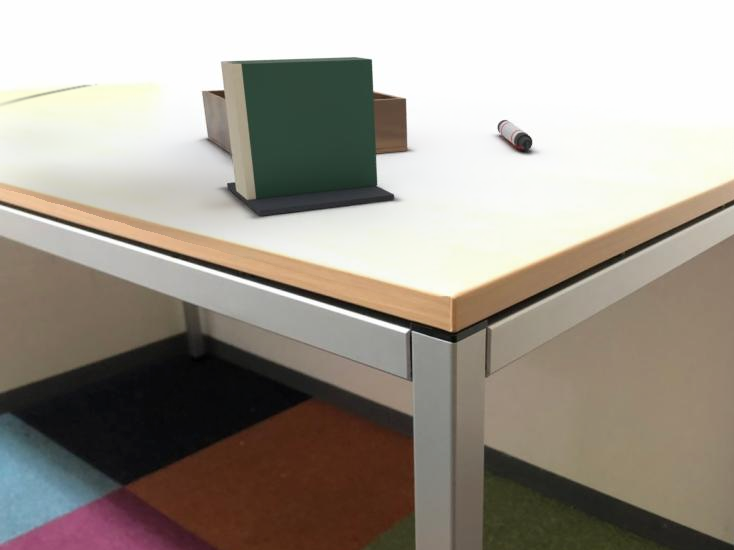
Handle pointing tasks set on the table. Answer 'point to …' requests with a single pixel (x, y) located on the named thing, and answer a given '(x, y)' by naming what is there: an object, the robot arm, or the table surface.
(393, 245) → the table surface
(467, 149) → the table surface
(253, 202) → the mat
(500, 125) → the marker
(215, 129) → the box
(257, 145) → the book
